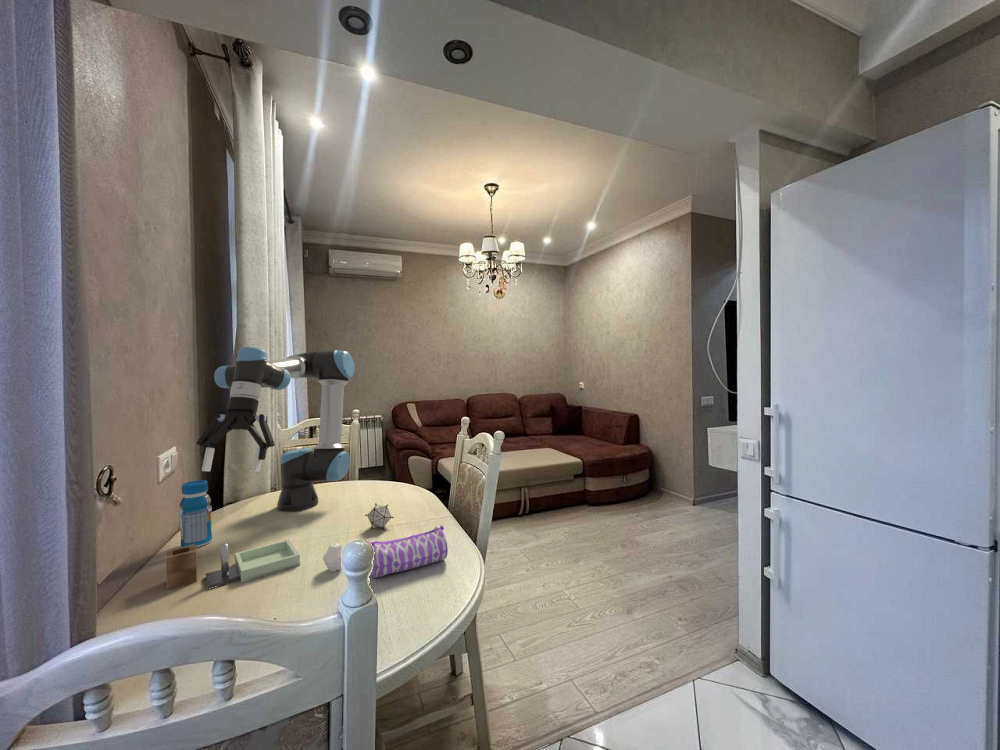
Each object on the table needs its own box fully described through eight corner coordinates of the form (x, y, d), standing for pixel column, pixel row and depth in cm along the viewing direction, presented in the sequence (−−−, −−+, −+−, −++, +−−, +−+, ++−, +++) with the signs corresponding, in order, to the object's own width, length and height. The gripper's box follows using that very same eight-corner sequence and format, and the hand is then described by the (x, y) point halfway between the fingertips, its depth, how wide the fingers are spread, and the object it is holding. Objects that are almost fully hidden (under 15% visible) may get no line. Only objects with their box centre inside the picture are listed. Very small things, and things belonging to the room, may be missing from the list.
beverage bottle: (191, 551, 123) (189, 487, 123) (173, 547, 126) (171, 485, 126) (218, 540, 131) (217, 480, 131) (201, 537, 134) (199, 478, 134)
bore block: (195, 572, 110) (194, 544, 110) (196, 581, 105) (195, 551, 105) (167, 580, 106) (166, 550, 106) (167, 589, 101) (166, 558, 101)
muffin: (349, 562, 114) (348, 538, 113) (344, 573, 108) (344, 547, 107) (326, 564, 112) (325, 540, 112) (320, 575, 106) (319, 549, 106)
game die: (378, 540, 137) (366, 524, 131) (369, 525, 143) (357, 509, 137) (401, 523, 141) (390, 506, 135) (390, 509, 146) (380, 492, 141)
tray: (289, 548, 123) (288, 539, 123) (300, 565, 113) (299, 554, 113) (235, 563, 114) (234, 553, 114) (241, 582, 104) (241, 571, 104)
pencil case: (439, 550, 120) (438, 519, 120) (453, 562, 112) (452, 529, 112) (364, 572, 108) (363, 537, 108) (374, 587, 100) (373, 550, 100)
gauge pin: (241, 567, 112) (240, 535, 112) (244, 578, 106) (243, 544, 106) (205, 577, 107) (204, 544, 107) (207, 589, 101) (206, 554, 101)
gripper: (192, 394, 114) (175, 470, 108) (282, 396, 116) (270, 471, 110) (208, 399, 121) (193, 471, 115) (293, 401, 123) (282, 472, 117)
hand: (231, 471), depth 113 cm, fingers open, 13 cm apart
